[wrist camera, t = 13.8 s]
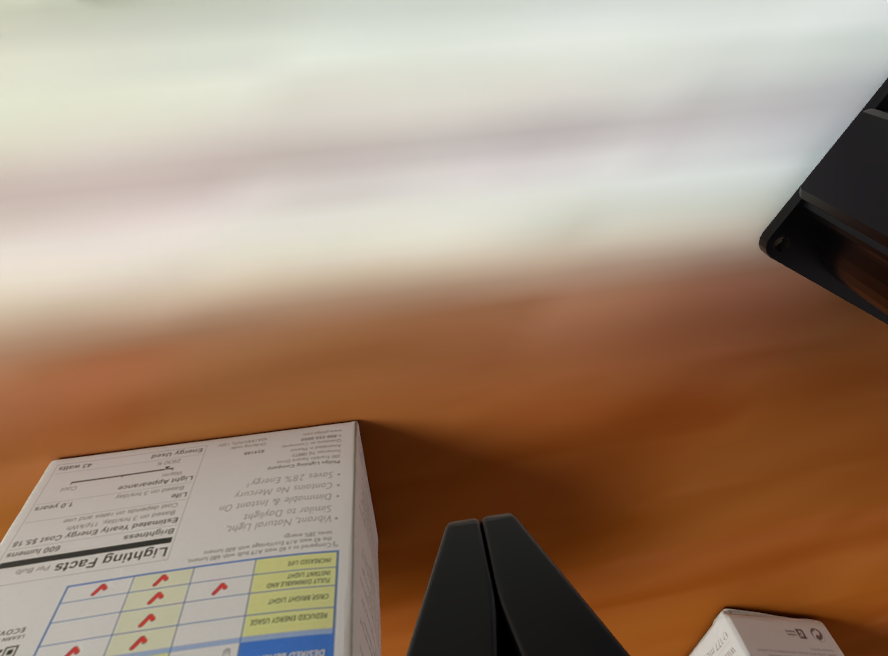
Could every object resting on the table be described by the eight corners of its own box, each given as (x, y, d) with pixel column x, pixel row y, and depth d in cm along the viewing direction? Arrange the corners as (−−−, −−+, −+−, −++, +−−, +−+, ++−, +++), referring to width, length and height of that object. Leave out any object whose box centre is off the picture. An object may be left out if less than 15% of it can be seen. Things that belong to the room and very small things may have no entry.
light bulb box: (114, 583, 25) (-37, 956, 16) (43, 453, 22) (-203, 832, 12) (387, 545, 25) (397, 885, 16) (361, 411, 22) (355, 747, 13)
